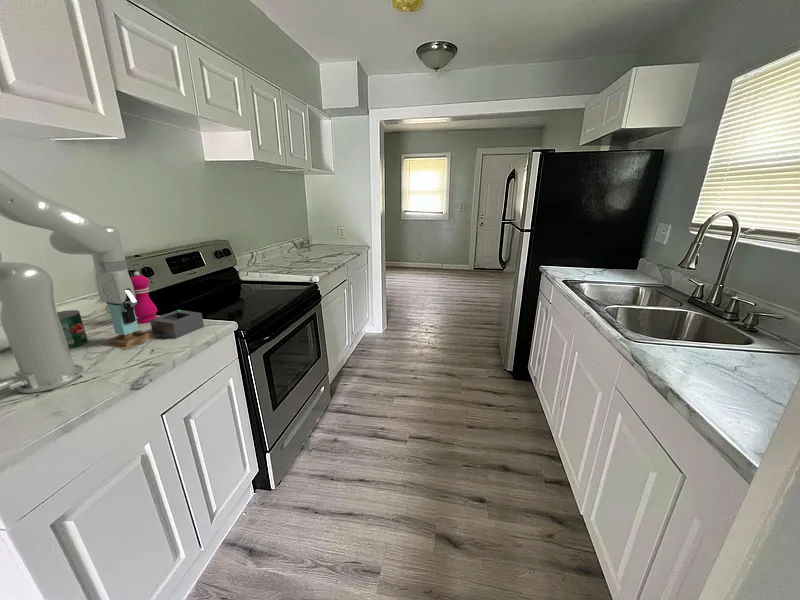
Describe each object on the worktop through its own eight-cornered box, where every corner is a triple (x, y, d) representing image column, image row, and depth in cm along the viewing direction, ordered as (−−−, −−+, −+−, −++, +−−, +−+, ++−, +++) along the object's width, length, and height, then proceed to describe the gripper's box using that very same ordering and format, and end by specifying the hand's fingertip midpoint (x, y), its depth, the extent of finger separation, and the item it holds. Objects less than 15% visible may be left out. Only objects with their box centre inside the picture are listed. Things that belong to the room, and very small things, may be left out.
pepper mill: (131, 324, 124) (118, 273, 118) (150, 317, 131) (138, 269, 124) (145, 326, 122) (133, 274, 116) (164, 319, 129) (152, 270, 123)
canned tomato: (52, 346, 105) (41, 314, 102) (85, 338, 111) (75, 308, 108) (58, 353, 101) (47, 320, 97) (91, 344, 107) (82, 313, 104)
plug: (124, 335, 105) (116, 302, 102) (115, 333, 107) (107, 300, 103) (138, 330, 109) (131, 298, 106) (129, 328, 111) (122, 297, 107)
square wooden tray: (125, 351, 103) (123, 345, 102) (101, 345, 106) (100, 340, 106) (159, 337, 113) (158, 332, 112) (136, 333, 116) (135, 327, 116)
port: (176, 340, 111) (173, 322, 109) (153, 335, 114) (149, 318, 112) (204, 328, 121) (201, 312, 119) (182, 324, 124) (178, 308, 122)
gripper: (79, 266, 101) (94, 322, 106) (116, 271, 96) (130, 328, 101) (106, 262, 107) (119, 314, 113) (143, 266, 102) (154, 320, 108)
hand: (124, 320), depth 107 cm, fingers closed on plug, 4 cm apart
